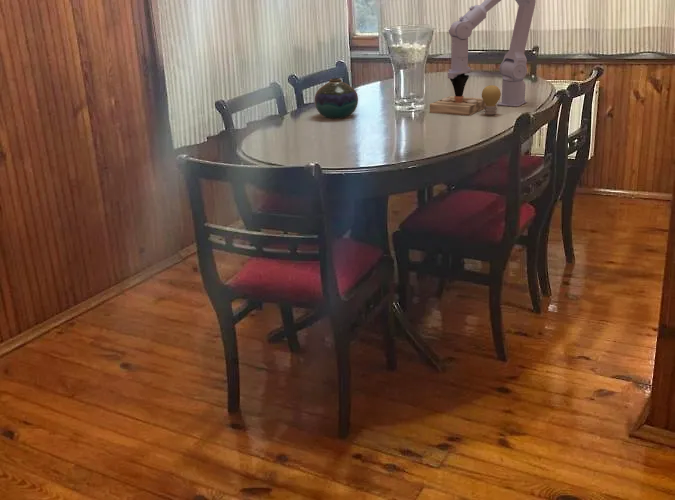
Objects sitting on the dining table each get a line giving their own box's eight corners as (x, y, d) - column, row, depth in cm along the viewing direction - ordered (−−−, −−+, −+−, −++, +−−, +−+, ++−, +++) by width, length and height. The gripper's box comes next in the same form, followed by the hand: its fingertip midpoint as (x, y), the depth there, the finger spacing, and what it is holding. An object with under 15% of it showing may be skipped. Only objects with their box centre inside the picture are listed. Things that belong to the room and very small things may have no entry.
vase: (308, 120, 259) (306, 82, 254) (325, 111, 272) (323, 75, 267) (349, 122, 253) (347, 83, 248) (364, 113, 266) (363, 75, 261)
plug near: (469, 107, 264) (469, 99, 263) (477, 107, 262) (477, 99, 261) (465, 108, 261) (465, 100, 260) (473, 109, 260) (474, 101, 259)
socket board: (449, 104, 275) (449, 96, 274) (487, 107, 267) (487, 98, 266) (429, 112, 263) (429, 104, 262) (468, 115, 255) (468, 107, 254)
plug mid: (456, 102, 266) (456, 95, 265) (464, 103, 264) (465, 95, 263) (452, 104, 264) (452, 96, 263) (461, 105, 262) (461, 97, 261)
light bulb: (500, 116, 251) (501, 86, 248) (480, 116, 253) (481, 87, 249) (499, 112, 257) (501, 83, 253) (481, 112, 258) (482, 83, 255)
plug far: (444, 105, 269) (444, 97, 268) (452, 105, 267) (452, 98, 266) (440, 106, 267) (440, 99, 266) (448, 107, 265) (448, 99, 264)
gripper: (458, 54, 265) (457, 92, 271) (439, 59, 254) (439, 98, 260) (476, 54, 262) (475, 93, 267) (458, 60, 251) (457, 100, 256)
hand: (458, 96), depth 263 cm, fingers closed, pressing on plug mid
